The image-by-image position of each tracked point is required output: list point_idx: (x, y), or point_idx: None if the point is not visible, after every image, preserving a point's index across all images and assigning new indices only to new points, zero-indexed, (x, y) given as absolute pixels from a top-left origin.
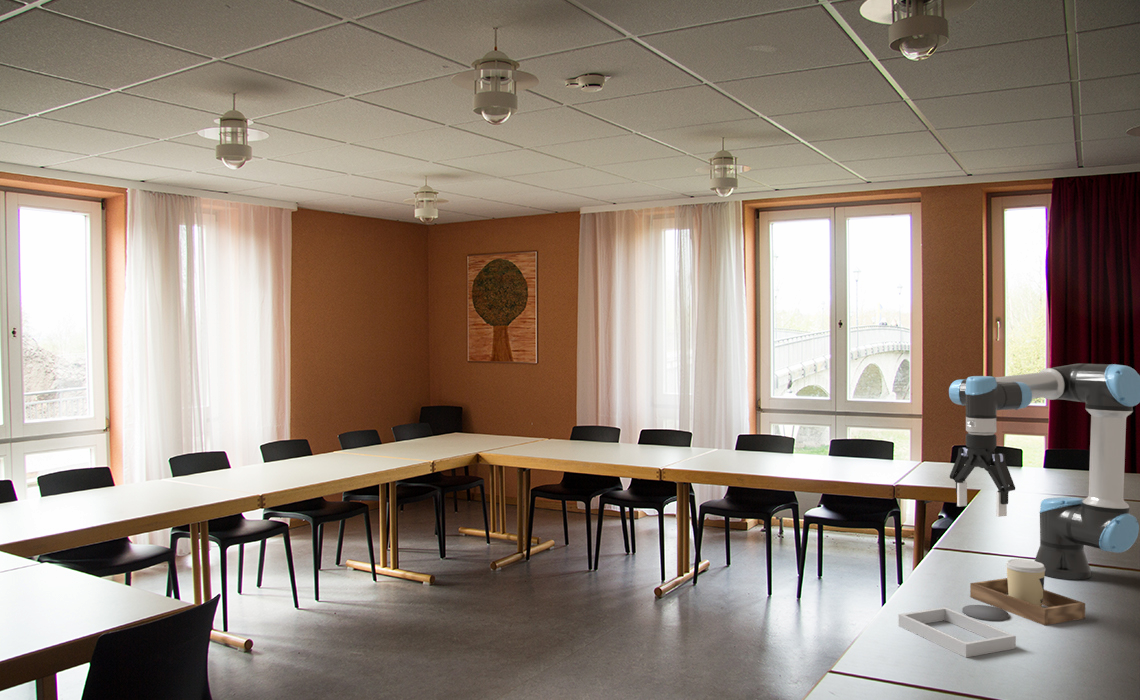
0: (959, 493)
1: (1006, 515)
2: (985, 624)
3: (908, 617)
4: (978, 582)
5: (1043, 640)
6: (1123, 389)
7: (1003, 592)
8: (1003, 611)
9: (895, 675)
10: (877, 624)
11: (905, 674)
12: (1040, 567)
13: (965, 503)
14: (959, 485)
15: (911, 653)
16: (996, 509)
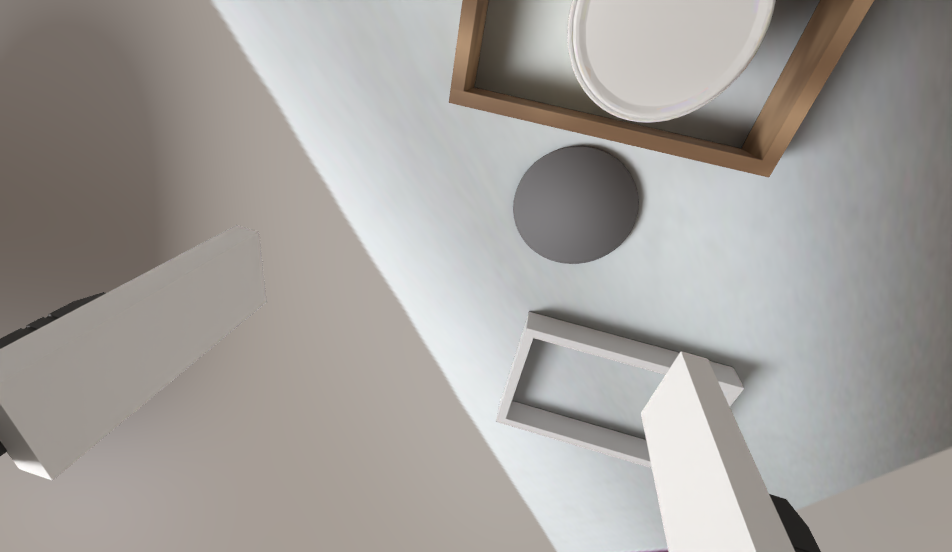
0: (174, 377)
1: (707, 361)
2: (656, 368)
3: (519, 424)
4: (458, 66)
5: (776, 280)
6: None
7: None
8: (609, 166)
9: (621, 542)
10: (472, 416)
11: (630, 535)
12: (765, 26)
13: (244, 255)
14: (81, 450)
15: (592, 481)
16: (653, 465)
